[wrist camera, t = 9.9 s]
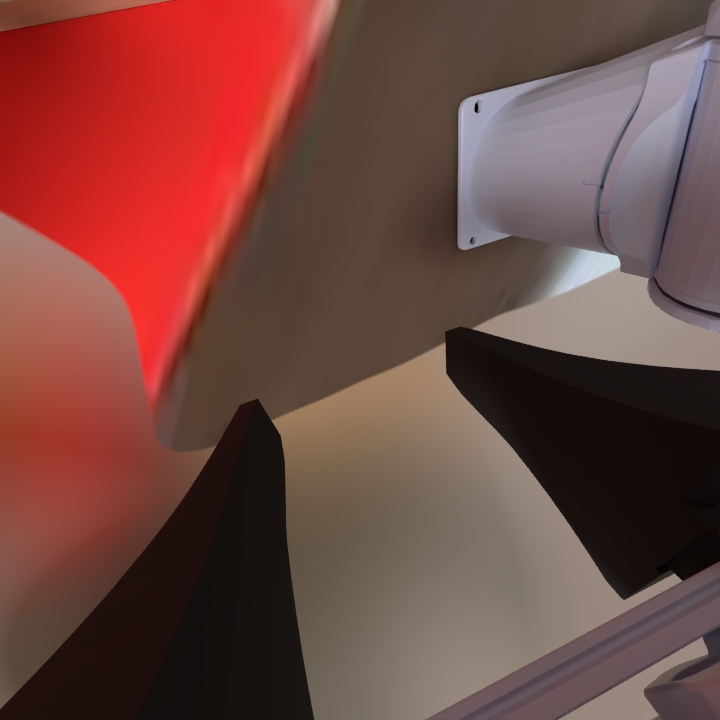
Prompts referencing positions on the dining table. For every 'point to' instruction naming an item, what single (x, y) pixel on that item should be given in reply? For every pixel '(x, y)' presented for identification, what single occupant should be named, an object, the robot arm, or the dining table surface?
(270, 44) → the dining table surface
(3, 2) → the pin board
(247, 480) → the robot arm
